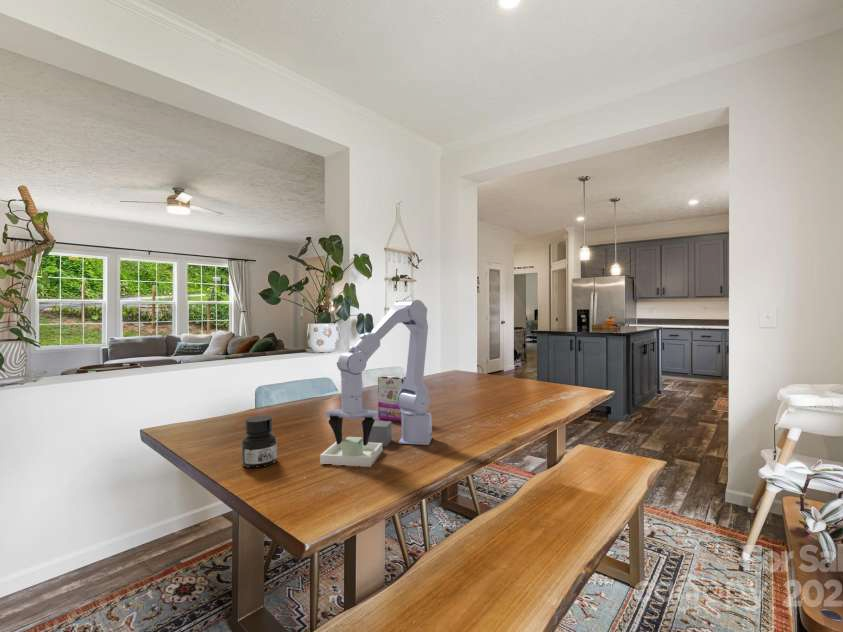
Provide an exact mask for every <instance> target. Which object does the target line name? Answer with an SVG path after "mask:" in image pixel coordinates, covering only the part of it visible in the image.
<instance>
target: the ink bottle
mask: <svg viewBox="0 0 843 632" xmlns="http://www.w3.org/2000/svg"><path fill="white" fill-rule="evenodd" d="M244 423H245V434H246V435H245V436H244V438H242V440H241V464H242V465H243V466H244V465H245V466H249V467H256V466H263V467H265V466H264V465H267V466H269V465H268V464H270V465H272V464H271V463H273V462H274V461H275V462H277V458H278V441H277V440H278V439H277V436H276V434H274V433H273V416H271V415H255V416H251V417H247V418H245V422H244ZM275 462H274V463H275ZM274 463H273V464H274ZM245 466H244V467H245ZM249 467H248V468H249Z"/></svg>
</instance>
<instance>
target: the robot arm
mask: <svg viewBox="0 0 843 632" xmlns="http://www.w3.org/2000/svg"><path fill="white" fill-rule="evenodd" d="M427 315H428V308H427V306H426V305H425V303H424V302H423V301H422V300H420V299H414V300H397V301H395V302H394V303H393V305H391V306H390V307H389V309H388V312H387V313H386V314H385V315H384V316H383V318H382V319H381V320H380V321H379V323H378V324H377V325H376V326H375V327H374V329H373V330H372V331H371V332H365V333H361V334H360V335H359V339H358V340H357V341H356V342H355V343H354V344H353V345H351V346H350V347H348V348H349V349H348V351H346V352H343V353H341V354H340V356H339V358H338V361H336V367H337V369H338V370H339V371H340V380H341V381H340V383H341V385H340V387H341V408H338V409H337V408H335V409H330V408H329V409H327V410H325V411H326V412H325V414H326V415H325V418H327V419H329V420H328V424H329V426H330V428H331V429H332V432H333V434H334V437H335V439H336V441H337V444H340V443H341V442H342V441H343V420H344V418H346V419H347V418H348V419H362V421H361V425H362V433H363V436H362V437H363V445H365V446H366V445H367V444H368V439H369V435H370V431H371V428H372V426H373V423H374V421H376V420H378V419H379V417H378V410H372V409H371V410H370V409H366V408H365V409H364V408H363V371H365V369H366V367H367V362H368V360H369V359H370V358H371V357H372V356H373V355H374V353H376V351H377V350H378V349H379V348H380V347H381V340H382V339H383V338H384V337H385V336H386V335H387V334H388V333H390V331H392V330H393V328H394V327H396V326H397V324H399V323H401V324H403V325H404V326H405V327H406V328H407V329H408V331H410V333H409V344H408V352H407V363H406V364H407V365H406V372H405V376H406V381H405V382H404V383H403V384H402V385H401V386H400V391H399V393H398V395H397V405H398V406H399V407H400V411H401V412H402V422H401V438H400V439H399V440H398V442H397V443H398V444H401V445H402V444H403V445H420V446H421V445H422V446H428V445H429V446H430V443H431V442H432V438H433V422H432V421H433V418H432V417H433V416H432V413H430V412H427V411H428V409H429V408H430V403H431V401H430V396H429V388H428V387H427V385H426V384H425V383H424V373H425V364H426V355H427V354H426V353H427V342H428V334H429V333H428V330H429V324H428V320H427ZM336 441H335V442H336Z"/></svg>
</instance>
